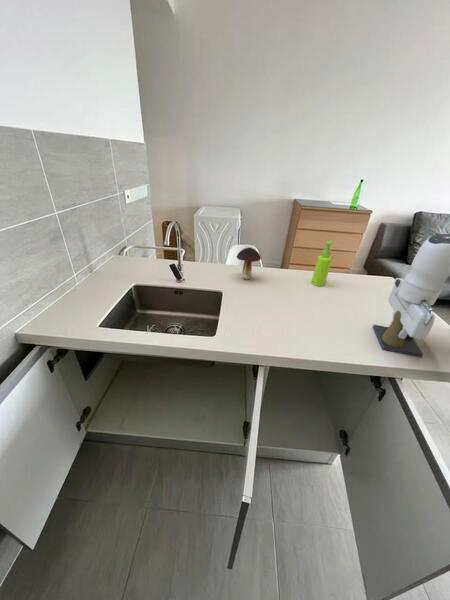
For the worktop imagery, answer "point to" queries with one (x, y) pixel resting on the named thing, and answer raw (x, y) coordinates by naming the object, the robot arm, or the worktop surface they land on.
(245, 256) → the decorative mushroom
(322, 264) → the soap dispenser
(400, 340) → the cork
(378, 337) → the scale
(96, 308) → the worktop surface
